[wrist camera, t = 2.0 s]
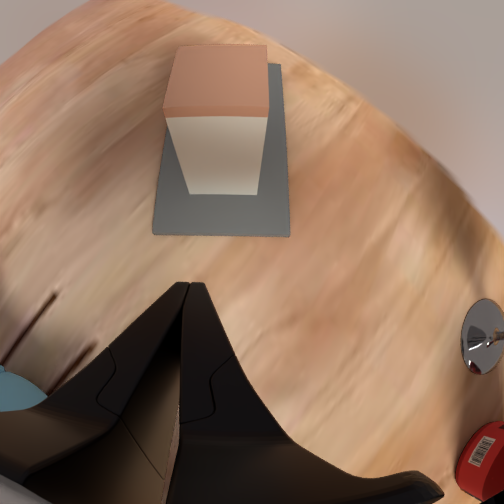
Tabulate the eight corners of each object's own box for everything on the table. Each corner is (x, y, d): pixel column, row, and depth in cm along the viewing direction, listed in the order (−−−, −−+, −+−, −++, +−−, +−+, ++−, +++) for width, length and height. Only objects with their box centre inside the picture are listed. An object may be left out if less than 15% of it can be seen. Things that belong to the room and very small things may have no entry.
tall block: (256, 195, 23) (269, 107, 13) (189, 194, 23) (162, 107, 13) (256, 140, 24) (266, 45, 14) (195, 139, 24) (178, 46, 14)
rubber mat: (288, 237, 23) (290, 234, 22) (154, 235, 22) (152, 232, 22) (280, 68, 27) (280, 64, 27) (181, 67, 27) (180, 63, 26)
